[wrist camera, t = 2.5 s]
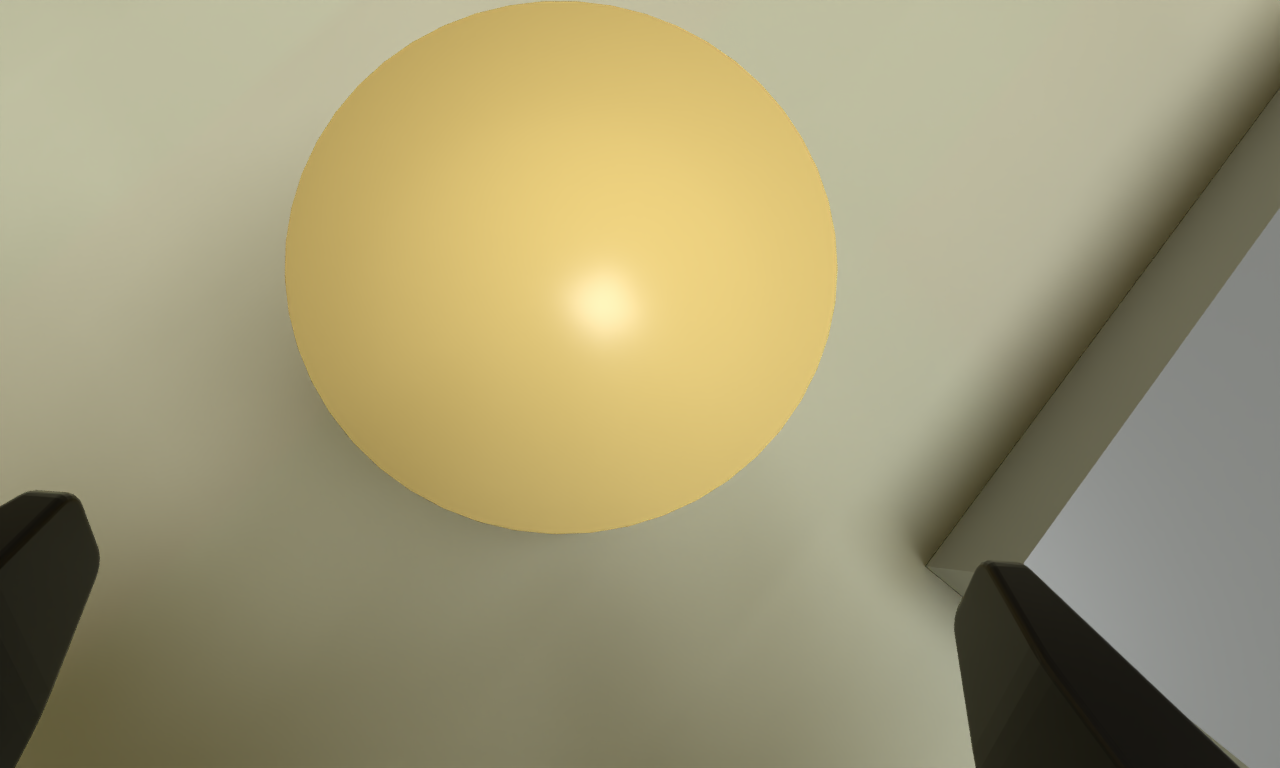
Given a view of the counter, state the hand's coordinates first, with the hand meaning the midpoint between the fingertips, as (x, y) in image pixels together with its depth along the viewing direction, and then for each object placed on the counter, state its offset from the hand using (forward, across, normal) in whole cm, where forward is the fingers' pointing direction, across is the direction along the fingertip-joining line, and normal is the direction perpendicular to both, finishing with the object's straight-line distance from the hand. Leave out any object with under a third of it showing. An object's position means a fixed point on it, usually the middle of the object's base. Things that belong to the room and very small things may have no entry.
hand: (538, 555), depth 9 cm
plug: (+8, 0, +5) cm, 10 cm away
